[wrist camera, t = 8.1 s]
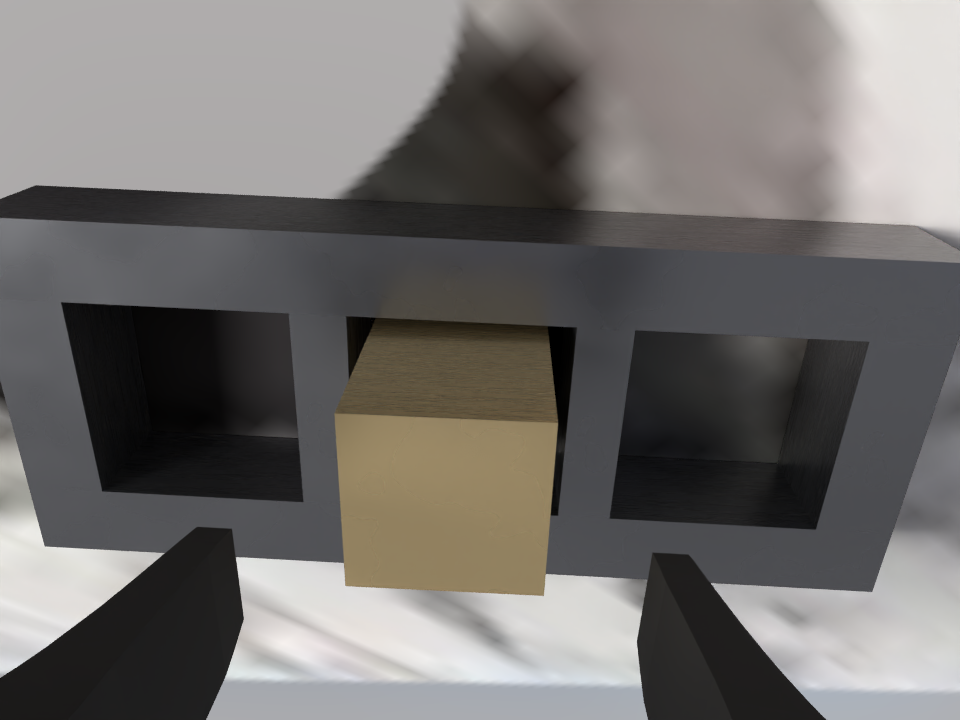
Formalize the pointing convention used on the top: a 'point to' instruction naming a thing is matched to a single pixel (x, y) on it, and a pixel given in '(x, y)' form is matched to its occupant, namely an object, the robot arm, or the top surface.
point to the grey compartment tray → (482, 299)
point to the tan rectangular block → (448, 457)
